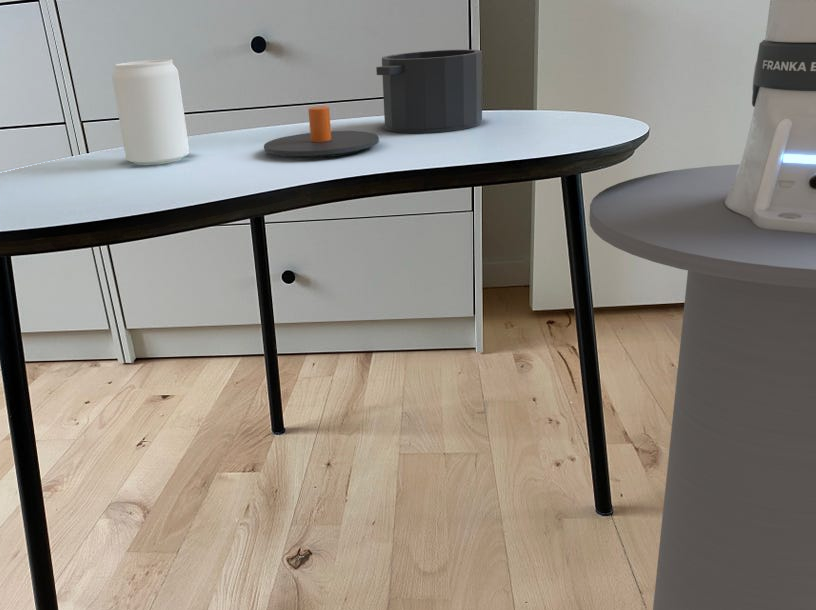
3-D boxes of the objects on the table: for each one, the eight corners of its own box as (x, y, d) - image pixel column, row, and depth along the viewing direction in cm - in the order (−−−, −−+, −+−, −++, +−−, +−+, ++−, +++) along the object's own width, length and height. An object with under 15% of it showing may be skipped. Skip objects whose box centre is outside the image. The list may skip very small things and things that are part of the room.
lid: (403, 144, 105) (401, 102, 103) (315, 165, 96) (312, 119, 94) (326, 137, 115) (324, 98, 113) (241, 155, 106) (237, 113, 104)
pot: (512, 117, 119) (513, 47, 115) (422, 139, 108) (420, 61, 104) (441, 113, 128) (439, 48, 125) (351, 132, 117) (347, 61, 113)
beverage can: (132, 169, 103) (115, 67, 98) (122, 160, 109) (105, 64, 105) (196, 160, 105) (182, 60, 100) (182, 151, 112) (169, 57, 107)
